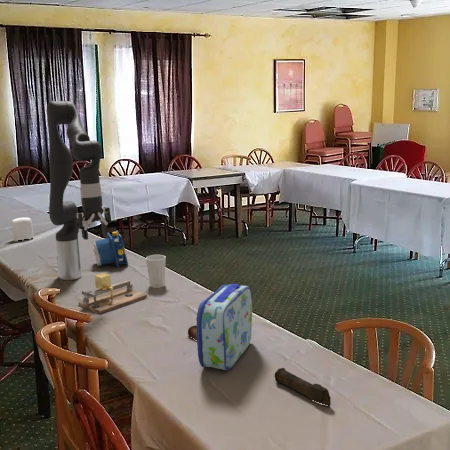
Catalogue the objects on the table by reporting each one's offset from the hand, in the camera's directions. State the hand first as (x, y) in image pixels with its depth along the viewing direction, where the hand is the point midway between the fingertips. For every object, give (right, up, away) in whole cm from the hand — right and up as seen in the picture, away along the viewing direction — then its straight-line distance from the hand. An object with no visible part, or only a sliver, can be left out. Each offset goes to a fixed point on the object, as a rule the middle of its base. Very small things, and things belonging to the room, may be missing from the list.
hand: (95, 237), depth 225 cm
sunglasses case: (+47, -32, -29) cm, 63 cm away
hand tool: (+70, -40, -67) cm, 105 cm away
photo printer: (-61, -4, +99) cm, 116 cm away
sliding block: (+4, -23, +2) cm, 24 cm away
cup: (+21, -21, +20) cm, 36 cm away
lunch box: (+50, -35, -44) cm, 75 cm away
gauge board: (+6, -25, +3) cm, 26 cm away
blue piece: (-4, -14, +51) cm, 53 cm away
